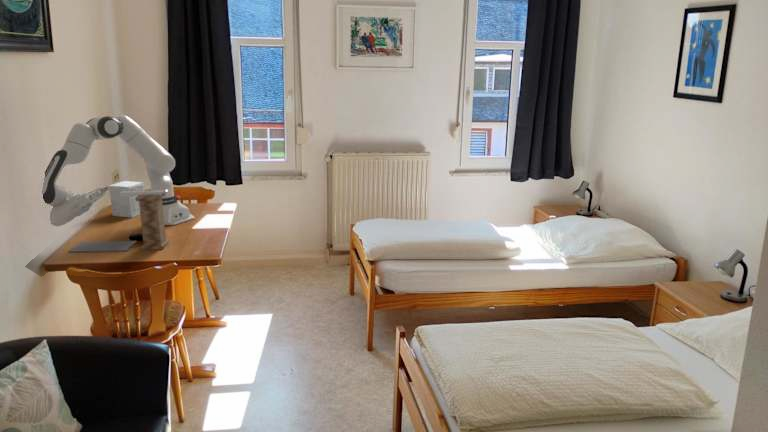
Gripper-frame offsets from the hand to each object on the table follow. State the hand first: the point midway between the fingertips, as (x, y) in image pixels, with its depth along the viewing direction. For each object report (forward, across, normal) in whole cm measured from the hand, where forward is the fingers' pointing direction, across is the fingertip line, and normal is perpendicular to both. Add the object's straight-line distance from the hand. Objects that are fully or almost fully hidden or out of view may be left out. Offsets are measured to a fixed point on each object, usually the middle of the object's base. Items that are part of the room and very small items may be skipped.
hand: (104, 189), depth 282 cm
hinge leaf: (+14, 0, +11) cm, 18 cm away
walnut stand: (+4, 0, +34) cm, 34 cm away
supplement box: (-23, +60, +18) cm, 67 cm away
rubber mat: (-17, 0, +22) cm, 28 cm away
